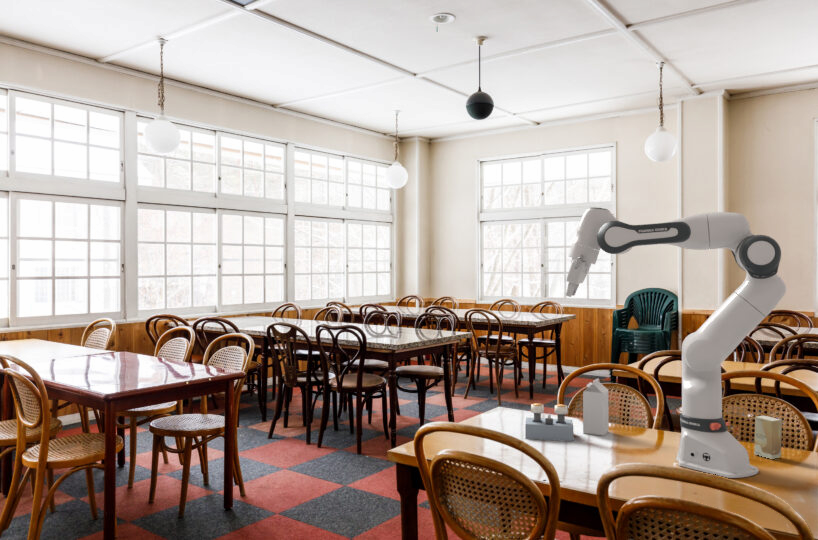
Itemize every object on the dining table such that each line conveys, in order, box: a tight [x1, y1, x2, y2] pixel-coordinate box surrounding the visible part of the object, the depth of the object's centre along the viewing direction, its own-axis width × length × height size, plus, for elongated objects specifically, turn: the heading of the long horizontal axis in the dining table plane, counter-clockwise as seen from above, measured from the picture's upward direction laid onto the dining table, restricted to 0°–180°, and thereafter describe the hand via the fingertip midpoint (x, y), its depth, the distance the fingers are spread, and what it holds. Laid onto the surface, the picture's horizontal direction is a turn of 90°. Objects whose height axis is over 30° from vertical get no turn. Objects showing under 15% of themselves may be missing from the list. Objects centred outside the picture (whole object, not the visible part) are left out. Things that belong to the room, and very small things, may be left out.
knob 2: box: [554, 403, 568, 424], centre depth 220 cm, size 4×4×8 cm
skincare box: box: [754, 415, 783, 460], centre depth 197 cm, size 6×4×12 cm
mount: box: [524, 417, 574, 442], centre depth 221 cm, size 16×10×5 cm, turn 78°
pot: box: [544, 413, 554, 425], centre depth 218 cm, size 3×3×3 cm
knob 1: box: [530, 402, 545, 423], centre depth 222 cm, size 4×4×8 cm
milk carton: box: [582, 377, 609, 437], centre depth 226 cm, size 7×7×19 cm
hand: (570, 295), depth 207 cm, fingers open, 8 cm apart
